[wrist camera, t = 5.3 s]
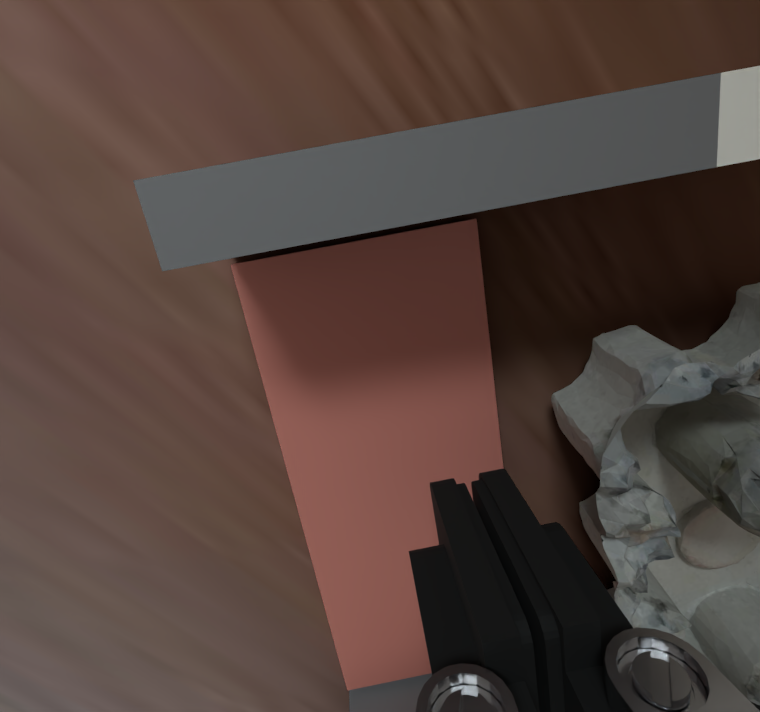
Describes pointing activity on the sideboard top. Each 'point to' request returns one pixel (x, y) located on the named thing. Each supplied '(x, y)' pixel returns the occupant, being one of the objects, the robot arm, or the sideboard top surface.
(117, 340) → the sideboard top surface
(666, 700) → the robot arm
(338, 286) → the frame
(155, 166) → the sideboard top surface
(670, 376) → the egg carton
